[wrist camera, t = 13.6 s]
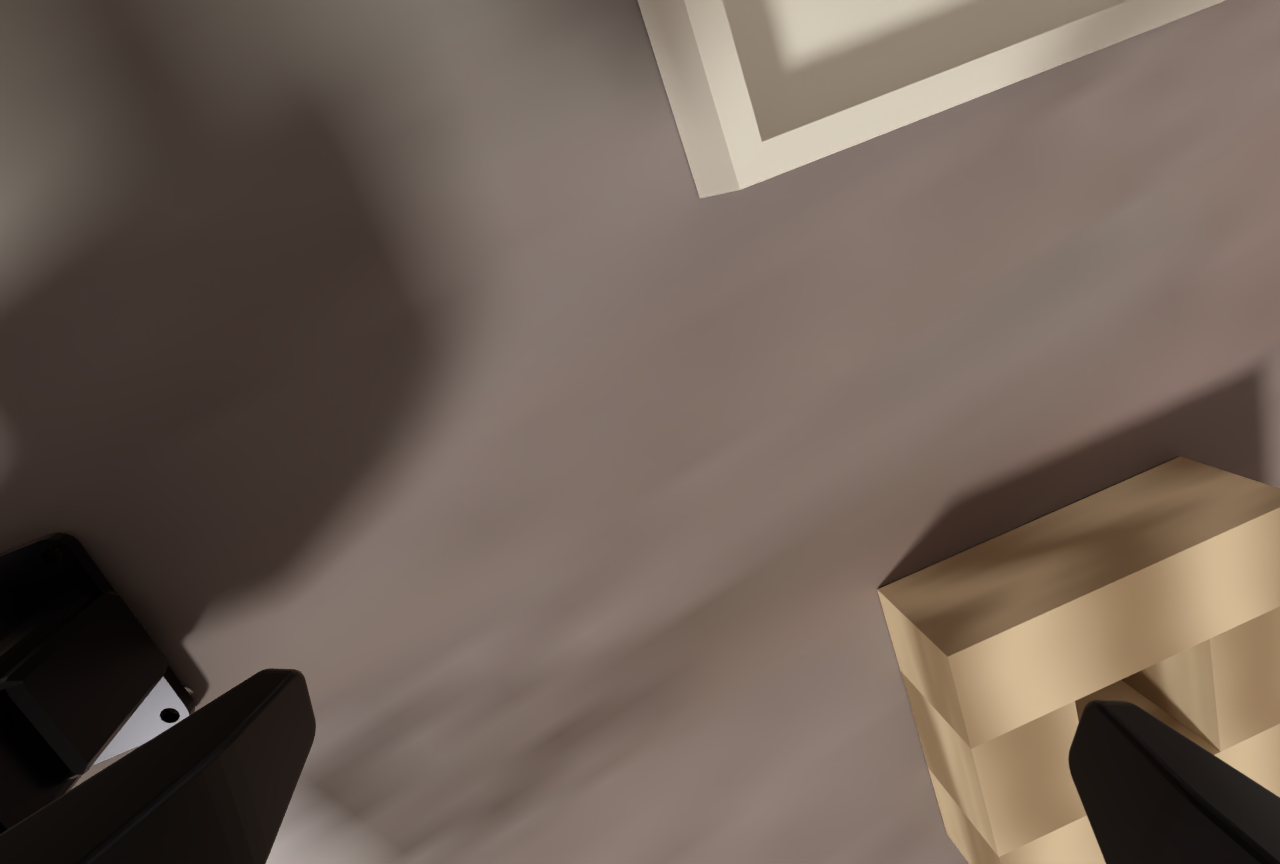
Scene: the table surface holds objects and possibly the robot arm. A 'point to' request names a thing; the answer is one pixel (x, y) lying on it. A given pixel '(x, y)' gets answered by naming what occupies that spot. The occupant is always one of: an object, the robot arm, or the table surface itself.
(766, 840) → the table surface
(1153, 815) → the robot arm
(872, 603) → the table surface
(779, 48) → the tray
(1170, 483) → the block
